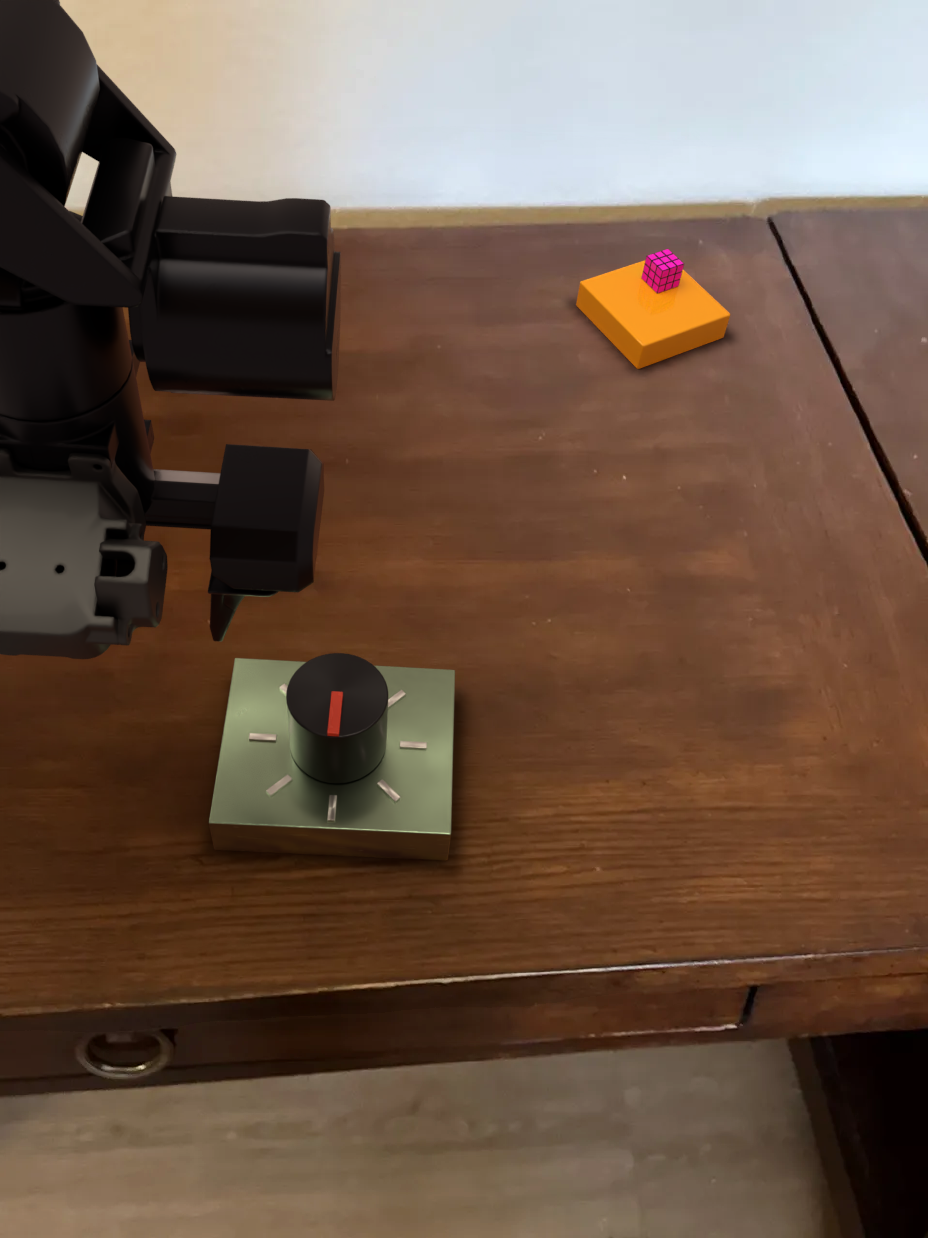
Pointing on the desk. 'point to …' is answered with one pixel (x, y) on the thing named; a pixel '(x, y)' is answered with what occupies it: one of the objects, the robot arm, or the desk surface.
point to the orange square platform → (652, 309)
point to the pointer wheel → (337, 717)
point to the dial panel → (335, 812)
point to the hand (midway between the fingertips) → (117, 628)
